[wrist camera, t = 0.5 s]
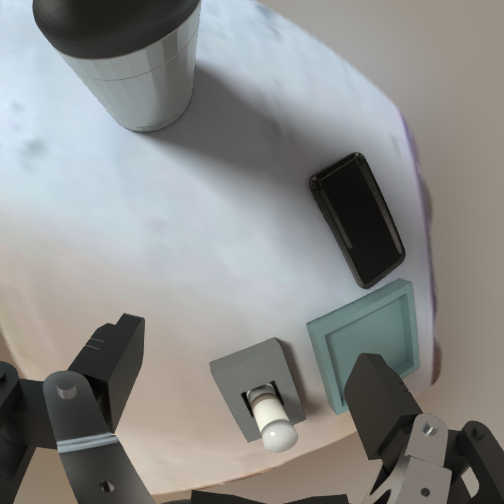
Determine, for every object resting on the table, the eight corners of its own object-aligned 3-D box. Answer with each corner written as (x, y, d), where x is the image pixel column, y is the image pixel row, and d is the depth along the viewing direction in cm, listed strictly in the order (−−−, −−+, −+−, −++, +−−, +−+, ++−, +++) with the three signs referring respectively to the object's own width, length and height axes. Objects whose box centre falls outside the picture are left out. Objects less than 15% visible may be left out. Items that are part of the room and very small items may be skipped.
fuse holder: (209, 362, 33) (211, 373, 31) (274, 337, 35) (280, 346, 32) (244, 430, 36) (248, 442, 34) (300, 408, 37) (306, 419, 35)
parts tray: (306, 323, 35) (314, 331, 33) (399, 278, 37) (411, 282, 35) (329, 405, 38) (337, 415, 36) (409, 360, 40) (419, 367, 38)
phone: (360, 149, 33) (407, 257, 36) (355, 150, 34) (402, 256, 37) (306, 179, 32) (362, 293, 35) (302, 180, 33) (358, 290, 36)
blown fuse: (240, 383, 35) (259, 437, 25) (267, 373, 35) (293, 423, 25) (249, 403, 35) (270, 456, 26) (275, 393, 36) (301, 443, 26)
